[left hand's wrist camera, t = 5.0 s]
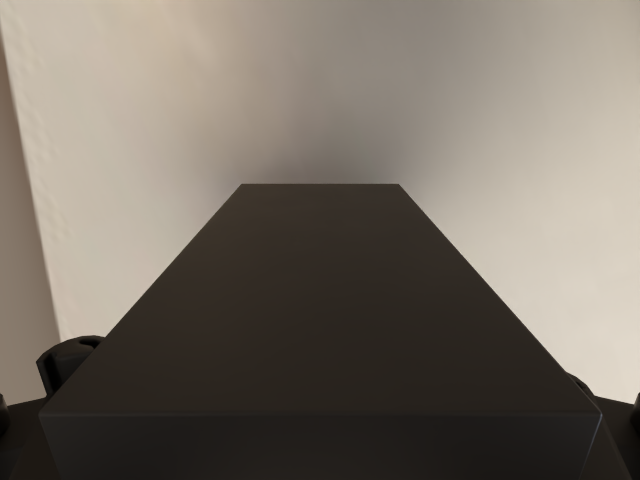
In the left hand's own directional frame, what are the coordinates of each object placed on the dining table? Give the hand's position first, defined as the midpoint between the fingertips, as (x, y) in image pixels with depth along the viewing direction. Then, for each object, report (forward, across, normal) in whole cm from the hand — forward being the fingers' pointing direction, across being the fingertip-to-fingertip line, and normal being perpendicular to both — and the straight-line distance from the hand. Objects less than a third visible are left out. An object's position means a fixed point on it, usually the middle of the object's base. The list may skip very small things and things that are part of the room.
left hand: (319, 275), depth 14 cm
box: (+2, 0, -9) cm, 9 cm away
